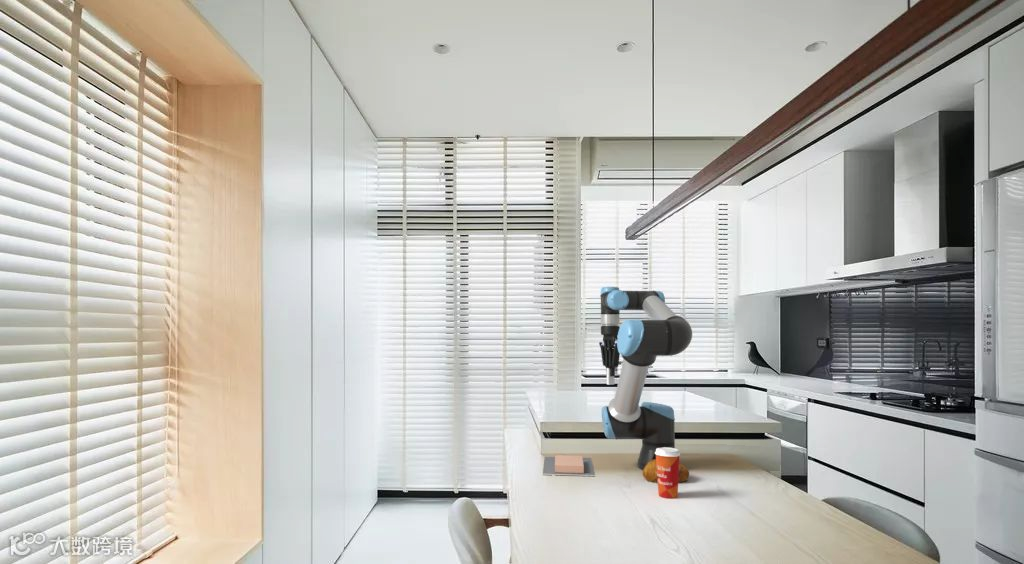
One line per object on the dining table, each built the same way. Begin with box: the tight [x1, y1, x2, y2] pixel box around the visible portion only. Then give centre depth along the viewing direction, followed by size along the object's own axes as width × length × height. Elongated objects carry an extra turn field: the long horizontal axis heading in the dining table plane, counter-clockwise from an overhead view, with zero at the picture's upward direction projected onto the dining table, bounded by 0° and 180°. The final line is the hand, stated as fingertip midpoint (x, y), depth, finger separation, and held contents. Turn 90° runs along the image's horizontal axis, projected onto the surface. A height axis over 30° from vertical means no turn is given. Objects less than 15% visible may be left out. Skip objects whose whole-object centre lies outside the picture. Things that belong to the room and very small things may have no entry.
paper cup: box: [655, 447, 681, 500], centre depth 182 cm, size 8×8×14 cm
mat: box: [542, 456, 596, 478], centre depth 217 cm, size 26×18×1 cm
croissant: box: [642, 459, 690, 483], centre depth 202 cm, size 14×16×8 cm
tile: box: [554, 454, 584, 473], centre depth 213 cm, size 3×10×16 cm
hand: (610, 384), depth 236 cm, fingers closed
